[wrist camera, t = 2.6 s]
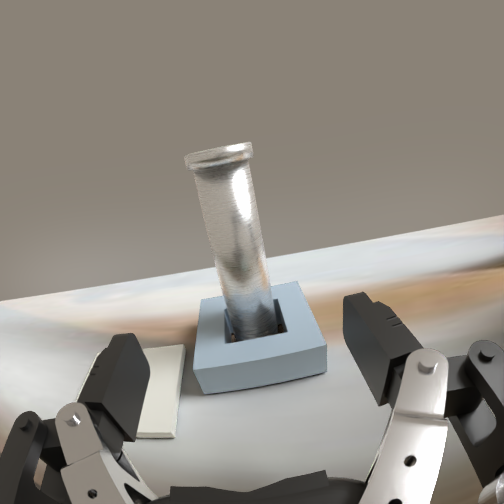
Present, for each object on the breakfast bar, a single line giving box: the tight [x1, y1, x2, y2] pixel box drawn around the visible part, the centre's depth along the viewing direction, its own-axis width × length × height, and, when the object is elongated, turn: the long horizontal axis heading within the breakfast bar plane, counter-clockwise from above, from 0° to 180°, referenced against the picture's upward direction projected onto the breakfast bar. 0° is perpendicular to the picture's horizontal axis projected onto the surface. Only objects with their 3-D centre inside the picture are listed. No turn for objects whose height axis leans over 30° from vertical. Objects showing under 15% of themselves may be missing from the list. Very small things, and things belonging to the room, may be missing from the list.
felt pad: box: [76, 344, 186, 438], centre depth 21 cm, size 10×10×1 cm
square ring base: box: [193, 281, 327, 394], centre depth 27 cm, size 10×17×3 cm, turn 5°
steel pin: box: [184, 142, 278, 342], centre depth 21 cm, size 5×5×17 cm
